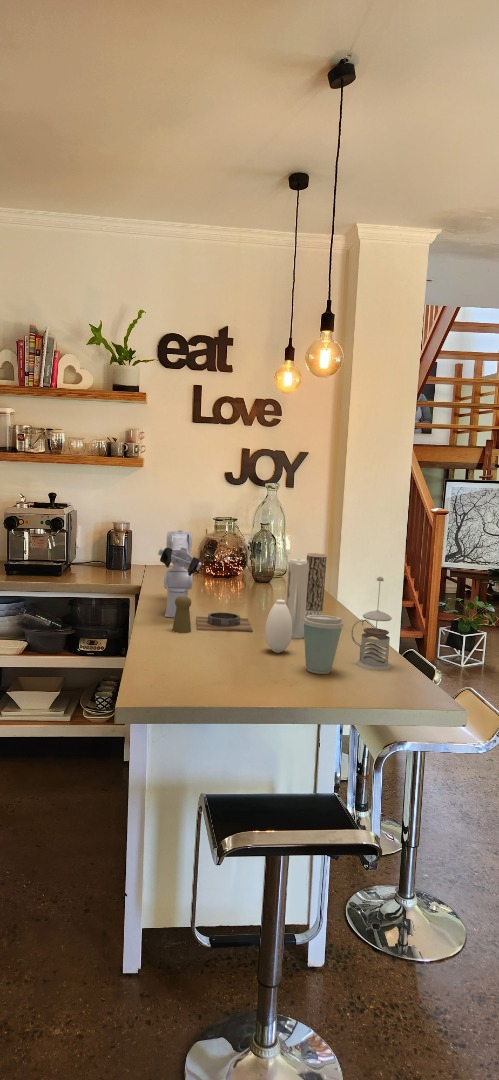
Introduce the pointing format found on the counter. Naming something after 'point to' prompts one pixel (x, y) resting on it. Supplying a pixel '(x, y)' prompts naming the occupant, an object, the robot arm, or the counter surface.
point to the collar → (223, 619)
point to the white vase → (278, 626)
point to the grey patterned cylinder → (315, 583)
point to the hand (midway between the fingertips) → (179, 569)
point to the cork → (182, 615)
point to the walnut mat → (243, 627)
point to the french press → (374, 641)
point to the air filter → (297, 595)
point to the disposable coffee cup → (321, 641)
